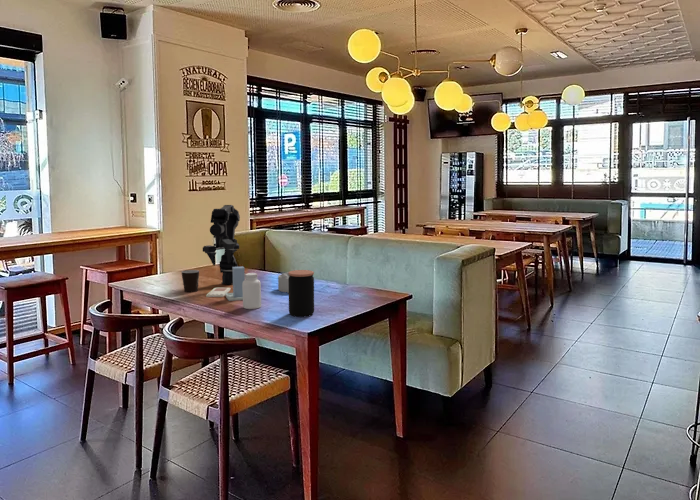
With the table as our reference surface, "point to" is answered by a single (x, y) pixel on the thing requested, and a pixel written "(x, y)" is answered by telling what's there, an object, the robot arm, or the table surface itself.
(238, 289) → the blue tall block
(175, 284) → the table surface
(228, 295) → the tray
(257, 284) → the pill bottle
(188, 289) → the coffee mug
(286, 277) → the lumpy-topped squat cylinder
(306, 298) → the coffee jar
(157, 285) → the table surface
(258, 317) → the table surface
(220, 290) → the board
